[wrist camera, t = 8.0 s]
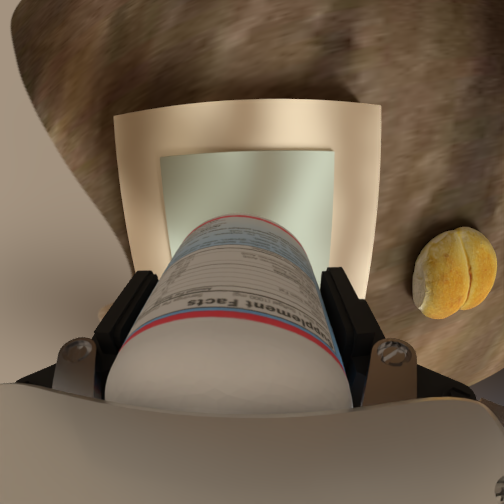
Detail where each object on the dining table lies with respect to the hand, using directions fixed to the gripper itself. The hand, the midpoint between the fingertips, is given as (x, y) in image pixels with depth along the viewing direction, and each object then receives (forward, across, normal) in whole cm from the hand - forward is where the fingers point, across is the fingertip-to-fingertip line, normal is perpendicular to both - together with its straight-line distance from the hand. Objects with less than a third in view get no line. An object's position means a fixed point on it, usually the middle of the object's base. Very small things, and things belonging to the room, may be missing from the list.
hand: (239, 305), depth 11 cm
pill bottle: (+3, 0, 0) cm, 3 cm away
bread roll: (+11, -18, +5) cm, 21 cm away
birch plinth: (+11, 0, 0) cm, 11 cm away
